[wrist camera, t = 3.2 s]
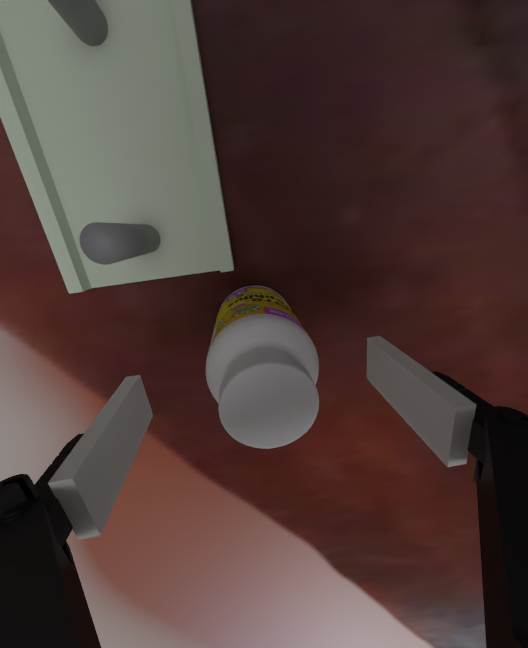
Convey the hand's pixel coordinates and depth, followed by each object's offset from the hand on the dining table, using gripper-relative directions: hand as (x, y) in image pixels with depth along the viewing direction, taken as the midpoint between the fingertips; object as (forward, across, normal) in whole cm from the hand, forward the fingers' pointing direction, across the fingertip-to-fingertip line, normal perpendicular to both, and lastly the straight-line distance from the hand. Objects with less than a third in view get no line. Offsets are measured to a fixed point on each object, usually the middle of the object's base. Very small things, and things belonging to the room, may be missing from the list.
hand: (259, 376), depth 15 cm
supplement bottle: (+10, 0, 0) cm, 10 cm away
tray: (+9, -7, +14) cm, 18 cm away
